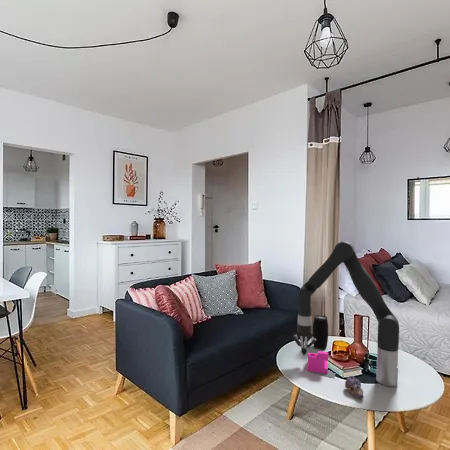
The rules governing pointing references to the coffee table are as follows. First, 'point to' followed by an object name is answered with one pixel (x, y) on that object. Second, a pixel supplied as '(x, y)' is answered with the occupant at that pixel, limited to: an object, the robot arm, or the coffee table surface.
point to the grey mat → (330, 374)
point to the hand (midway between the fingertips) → (304, 354)
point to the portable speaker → (320, 331)
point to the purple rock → (354, 387)
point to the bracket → (318, 362)
